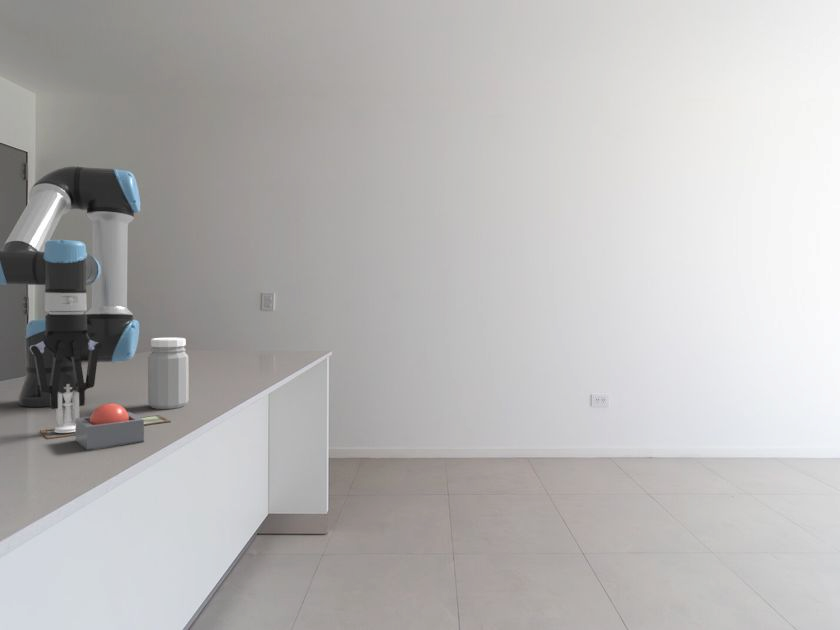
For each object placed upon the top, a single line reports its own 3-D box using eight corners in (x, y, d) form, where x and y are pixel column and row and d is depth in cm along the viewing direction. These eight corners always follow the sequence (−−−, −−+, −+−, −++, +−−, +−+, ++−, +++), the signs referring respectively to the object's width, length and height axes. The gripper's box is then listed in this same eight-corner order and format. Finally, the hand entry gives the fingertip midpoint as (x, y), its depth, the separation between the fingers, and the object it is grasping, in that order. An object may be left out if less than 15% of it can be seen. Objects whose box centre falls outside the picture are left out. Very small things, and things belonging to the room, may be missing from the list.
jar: (140, 409, 144) (139, 339, 143) (162, 401, 154) (161, 336, 153) (175, 410, 143) (175, 340, 142) (195, 403, 153) (195, 337, 152)
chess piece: (68, 433, 117) (68, 386, 117) (48, 432, 118) (48, 385, 118) (86, 428, 122) (86, 383, 122) (67, 426, 123) (67, 381, 123)
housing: (75, 440, 113) (75, 418, 113) (129, 432, 120) (129, 411, 120) (87, 450, 106) (87, 427, 105) (143, 441, 112) (143, 419, 112)
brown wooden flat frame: (40, 431, 120) (40, 430, 120) (158, 415, 136) (158, 414, 136) (47, 439, 114) (47, 438, 114) (170, 421, 130) (170, 421, 130)
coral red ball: (85, 437, 113) (85, 403, 113) (123, 432, 118) (123, 399, 117) (94, 444, 108) (93, 408, 108) (133, 438, 112) (133, 404, 112)
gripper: (25, 314, 111) (26, 431, 112) (111, 313, 121) (112, 420, 122) (19, 313, 116) (21, 424, 117) (102, 311, 127) (103, 414, 128)
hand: (67, 422), depth 120 cm, fingers closed on chess piece, 2 cm apart
